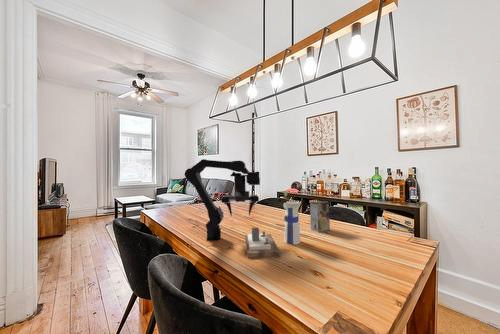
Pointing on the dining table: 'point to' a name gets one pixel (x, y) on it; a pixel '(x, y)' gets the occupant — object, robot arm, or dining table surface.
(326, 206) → the coffee box
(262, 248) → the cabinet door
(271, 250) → the peg board
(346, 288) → the dining table surface
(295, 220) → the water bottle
